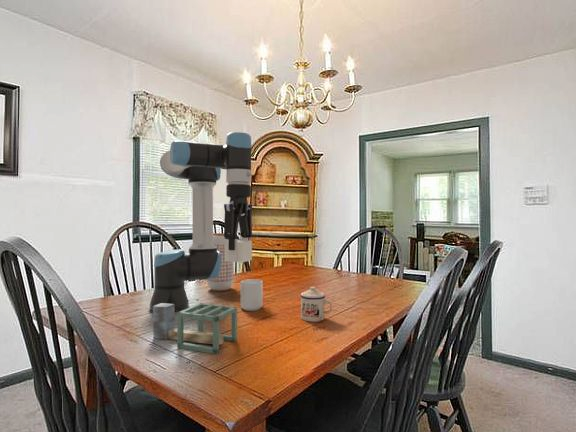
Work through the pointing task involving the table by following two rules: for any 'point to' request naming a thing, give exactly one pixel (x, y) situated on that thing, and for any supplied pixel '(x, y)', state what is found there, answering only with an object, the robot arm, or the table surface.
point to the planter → (222, 267)
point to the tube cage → (201, 317)
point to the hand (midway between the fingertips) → (238, 259)
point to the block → (240, 251)
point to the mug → (251, 294)
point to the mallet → (166, 326)
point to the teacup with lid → (313, 305)
